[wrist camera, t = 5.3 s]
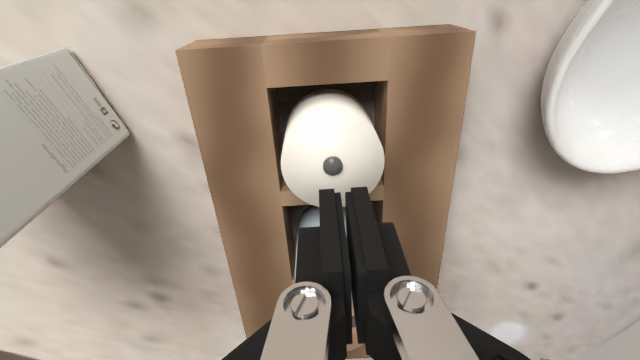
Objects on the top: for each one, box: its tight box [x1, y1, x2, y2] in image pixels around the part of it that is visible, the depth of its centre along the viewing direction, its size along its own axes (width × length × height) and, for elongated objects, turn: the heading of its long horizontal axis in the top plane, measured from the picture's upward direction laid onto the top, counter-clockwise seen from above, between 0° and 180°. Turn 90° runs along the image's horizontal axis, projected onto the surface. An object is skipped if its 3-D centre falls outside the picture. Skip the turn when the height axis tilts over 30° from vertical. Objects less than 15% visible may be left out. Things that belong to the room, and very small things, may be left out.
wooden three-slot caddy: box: [175, 24, 476, 359], centre depth 23 cm, size 14×24×4 cm, turn 3°
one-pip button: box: [281, 89, 385, 207], centre depth 18 cm, size 5×5×5 cm
